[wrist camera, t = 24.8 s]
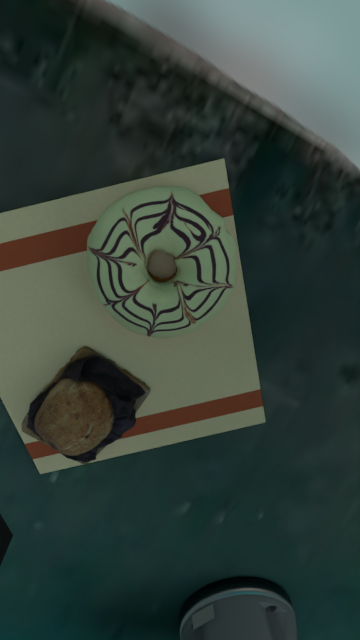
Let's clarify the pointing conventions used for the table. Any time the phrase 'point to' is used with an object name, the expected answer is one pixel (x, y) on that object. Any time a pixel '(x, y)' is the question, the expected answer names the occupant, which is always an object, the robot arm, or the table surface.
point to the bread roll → (85, 406)
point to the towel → (111, 337)
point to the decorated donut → (173, 239)
